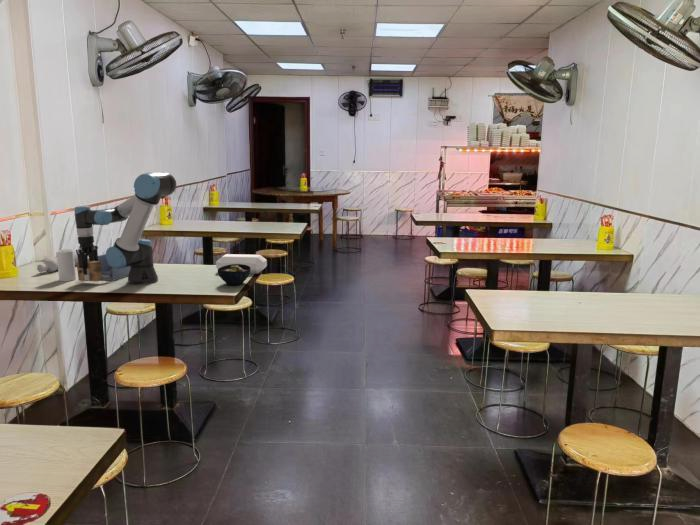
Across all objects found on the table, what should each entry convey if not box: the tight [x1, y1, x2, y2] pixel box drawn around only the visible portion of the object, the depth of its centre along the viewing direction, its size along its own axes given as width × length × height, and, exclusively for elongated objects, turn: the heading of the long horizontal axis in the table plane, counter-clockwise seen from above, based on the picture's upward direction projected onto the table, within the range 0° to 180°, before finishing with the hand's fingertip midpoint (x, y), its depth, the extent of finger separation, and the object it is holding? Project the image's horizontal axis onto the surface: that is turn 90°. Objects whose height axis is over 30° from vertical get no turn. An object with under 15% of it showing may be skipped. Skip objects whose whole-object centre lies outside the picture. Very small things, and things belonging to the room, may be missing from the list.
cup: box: [55, 248, 77, 282], centre depth 294 cm, size 8×8×16 cm
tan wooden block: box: [76, 261, 104, 282], centre depth 285 cm, size 12×5×10 cm, turn 74°
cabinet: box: [88, 253, 130, 281], centre depth 302 cm, size 17×20×11 cm
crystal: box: [215, 253, 268, 274], centre depth 315 cm, size 14×10×28 cm
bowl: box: [217, 264, 251, 287], centre depth 286 cm, size 17×17×10 cm
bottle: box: [36, 249, 78, 273], centre depth 320 cm, size 9×9×30 cm
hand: (90, 279), depth 286 cm, fingers closed on tan wooden block, 4 cm apart
